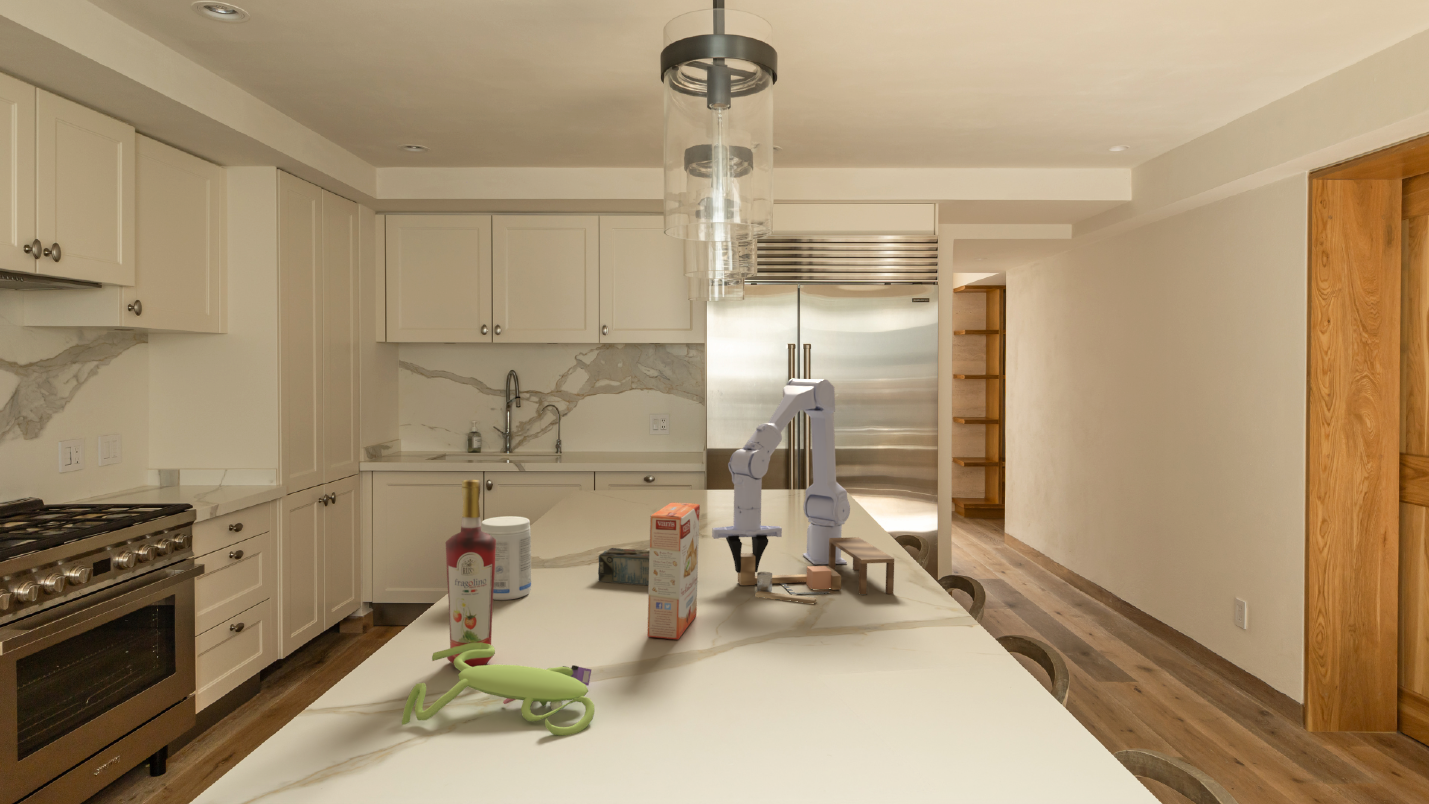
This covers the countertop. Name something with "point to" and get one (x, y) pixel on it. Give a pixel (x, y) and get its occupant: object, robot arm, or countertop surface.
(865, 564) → the wooden bench
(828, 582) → the terracotta cube
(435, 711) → the figurine
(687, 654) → the countertop surface
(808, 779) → the countertop surface
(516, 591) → the supplement tub
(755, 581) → the oak crook
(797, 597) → the maple bar
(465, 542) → the liquor
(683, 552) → the cracker box
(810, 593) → the tape bracket
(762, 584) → the spice tin
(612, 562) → the beverage carton
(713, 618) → the countertop surface
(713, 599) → the countertop surface
